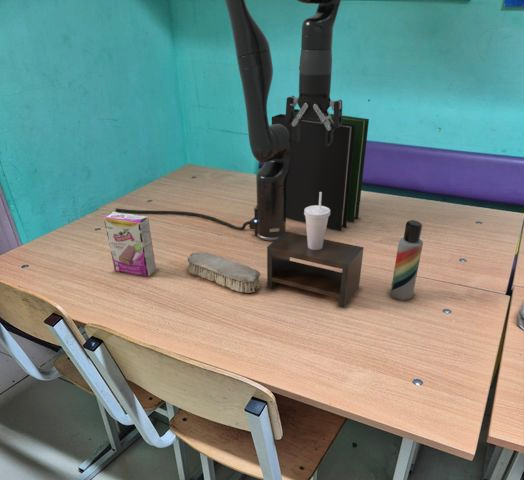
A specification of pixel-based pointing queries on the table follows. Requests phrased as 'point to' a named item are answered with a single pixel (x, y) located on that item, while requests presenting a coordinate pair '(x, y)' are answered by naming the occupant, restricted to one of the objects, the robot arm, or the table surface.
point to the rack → (313, 276)
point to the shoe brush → (224, 272)
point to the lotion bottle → (407, 261)
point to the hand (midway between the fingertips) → (312, 143)
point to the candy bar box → (130, 243)
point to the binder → (326, 168)
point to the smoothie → (316, 224)
